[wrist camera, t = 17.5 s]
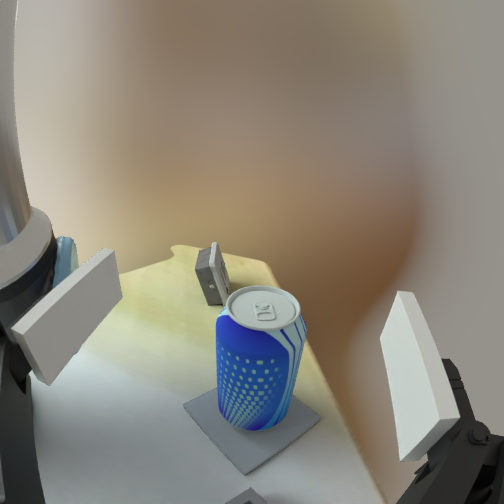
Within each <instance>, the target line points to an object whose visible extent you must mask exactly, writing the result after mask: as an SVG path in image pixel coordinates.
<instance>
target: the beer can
mask: <svg viewBox="0 0 504 504" xmlns="http://www.w3.org/2000/svg"><path fill="white" fill-rule="evenodd" d="M305 338H306V324H305V321H304V319H303V317H302V315H301V313H300V305H299V303H298V301H297V300H296V298H295V297H294V296H292V295H291V294H290V293H288V292H286V291H284V290H282V289H279V288H275V287H271V286H260V285H258V286H249V287H244V288H241V289H239V290H237V291H235V292H234V293H232V294H231V295H230V296H229V298H228V299H227V302H226V306H225V308H224V309H223V310H222V311H221V313H220V314H219V316H218V318H217V322H216V357H217V389H218V407H219V410H220V412H221V414H222V416H223V417H224V418H225V420H226V421H228V422H229V423H230V424H232V425H233V426H235V427H237V428H240V429H243V430H248V431H262V430H266V429H269V428H272V427H274V426H276V425H277V424H279V423H280V422H281V421H282V420H283V419H284V417H285V416H286V414H287V412H288V408H289V404H290V401H291V397H292V393H293V389H294V385H295V381H296V377H297V373H298V368H299V364H300V360H301V356H302V351H303V347H304V342H305Z"/></svg>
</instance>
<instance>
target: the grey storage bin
mask: <svg viewBox="0 0 504 504" xmlns="http://www.w3.org/2000/svg"><path fill="white" fill-rule="evenodd" d="M225 504H268V503H267V502H266V501H265V500H263V499H262V498H261V497H260V496H259V495H258V494H257V493H256V492H255V491H254V490H253V489H252V488H251V487H250V488H249V489H247V490H246V491H244V492H243V493H241V494H240V495H238V496H236V497H235V498H233V499H232V500H230V501H228V502H227V503H225Z"/></svg>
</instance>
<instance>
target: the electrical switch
mask: <svg viewBox="0 0 504 504" xmlns="http://www.w3.org/2000/svg"><path fill="white" fill-rule="evenodd" d="M197 269H198V270H197ZM195 271H196V274H197V277H198V280H199V282H200V285H201V287H202V290H203V293H204V295H205V298H206V301H207V303H208V305H214V304H220V303H221V304H223V306H224V307H225V306H226V302H227V299H228V298H229V289H230V281H229V277H228V273H227V270H226V267H225V263H224V260H223V257H222V254H221V251H220V249H219V246H218V243H217V242H213V243H212V247H210V248H207V249H203V250H199V254H198V258H197V262H196V267H195ZM209 285H210V286H211V288H210V287H209Z"/></svg>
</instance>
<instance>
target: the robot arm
mask: <svg viewBox="0 0 504 504" xmlns="http://www.w3.org/2000/svg"><path fill="white" fill-rule="evenodd" d="M18 1H19V0H0V504H46V503H45V499H44V495H43V490H42V485H41V480H40V475H39V469H38V463H37V457H36V450H35V441H34V432H33V420H32V402H31V378H30V376H29V372H30V371H31V370H33V372H34V374H35V376H36V377H37V379H38V380H40V381H42V382H43V383H45V384H47V385H49V386H50V385H51V384H52V382H53V381H54V380H55V378H56V377H57V376H58V375H59V373H60V372H61V371H62V369H63V368H64V367H65V366H66V364H67V363H68V362H69V360H70V359H71V358H72V357H73V355H75V354H76V353H77V352H78V351H79V350H80V348H81V346H82V344H83V343H84V342H85V341H86V340H87V338H88V337H89V336H90V335H91V333H92V332H93V331H94V330H95V329H96V327H97V326H98V325H99V324H100V323H101V322H102V320H103V319H104V318H105V317H106V316H107V315H108V313H109V312H110V311H111V310H112V309H113V308H114V306H115V305H116V304H117V303H118V302H119V301H120V300H121V298H122V297H123V296H122V291H121V286H120V281H119V275H118V270H117V264H116V258H115V251H114V250H109V249H103V248H102V249H101V250H100V251H98V252H97V253H96V254H95V255H93V256H92V257H91V258H90V259H88V260H87V261H86V262H85V263H84V264H82V265H81V266H80V267H79V266H78V257H77V250H76V245H75V243H74V240H73V239H72V238H70V237H64V236H60V237H58V238H57V239H55V237H54V234H53V230H52V225H51V222H50V219H49V218H48V216H47V215H46V214H45V213H44V212H43V211H41V210H39V209H36V208H34V207H32V206H30V203H29V199H28V194H27V190H26V186H25V181H24V175H23V170H22V164H21V158H20V152H19V145H18V137H17V128H16V117H15V104H14V80H13V62H14V61H13V60H14V37H15V25H16V15H17V8H18ZM380 341H381V346H382V351H383V356H384V360H385V365H386V370H387V376H388V381H389V386H390V392H391V398H392V404H393V410H394V417H395V424H396V431H397V439H398V447H399V457H400V462H403V461H415V460H419V459H420V458H421V457H422V456H424V455H425V454H426V453H427V455H428V461H427V462H426V463H425V464H424V465H423V466H421V467H420V468H419V469H418V470H417V471H416V472H415V473H414V474H418V475H417V476H416V477H415V479H414V480H413V482H412V483H411V484H410V486H409V487H408V489H407V490H406V491H405V493H404V494H403V495H402V496H401V498H400V499H399V500H398V502H397V503H396V504H504V436H498V435H493V434H491V433H490V431H489V429H488V428H487V426H485V425H484V424H483V423H482V422H479V421H476V420H475V418H474V414H473V411H472V408H471V405H470V402H469V399H468V396H467V393H466V391H465V389H464V385H463V383H462V381H461V377H460V374H459V372H458V369H457V368H456V366H455V365H454V364H453V363H452V361H451V360H450V359H441V358H440V355H439V353H438V350H437V347H436V345H435V342H434V340H433V337H432V335H431V332H430V330H429V328H428V325H427V323H426V321H425V318H424V316H423V314H422V311H421V309H420V307H419V305H418V302H417V300H416V298H415V296H414V294H413V293H412V292H404V291H398V292H397V295H396V297H395V300H394V303H393V306H392V309H391V311H390V314H389V316H388V319H387V322H386V324H385V327H384V330H383V332H382V334H381V337H380Z"/></svg>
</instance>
